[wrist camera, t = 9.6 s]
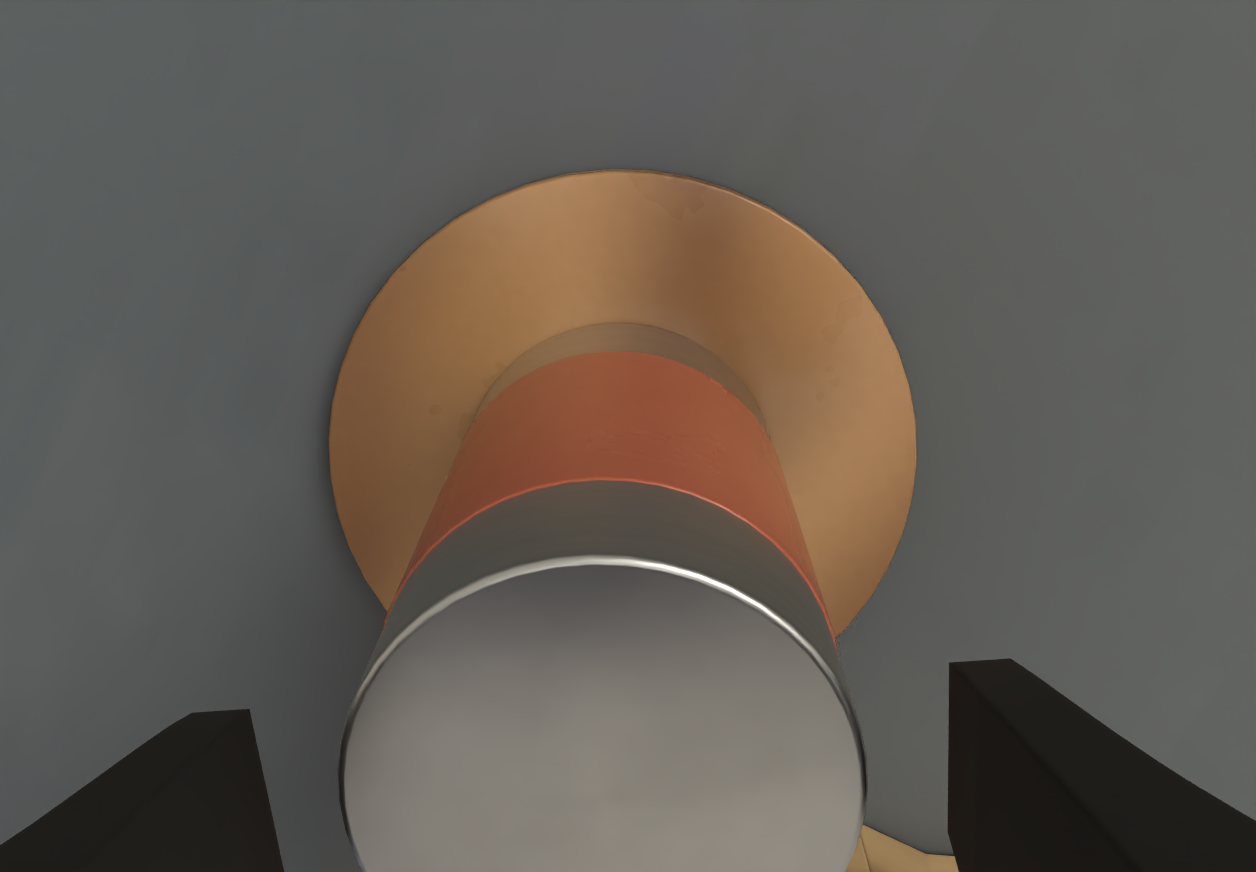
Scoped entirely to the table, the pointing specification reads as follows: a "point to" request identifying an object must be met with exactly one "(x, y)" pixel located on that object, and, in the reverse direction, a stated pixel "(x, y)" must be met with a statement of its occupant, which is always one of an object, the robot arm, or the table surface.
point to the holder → (894, 856)
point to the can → (607, 640)
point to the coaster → (633, 294)
